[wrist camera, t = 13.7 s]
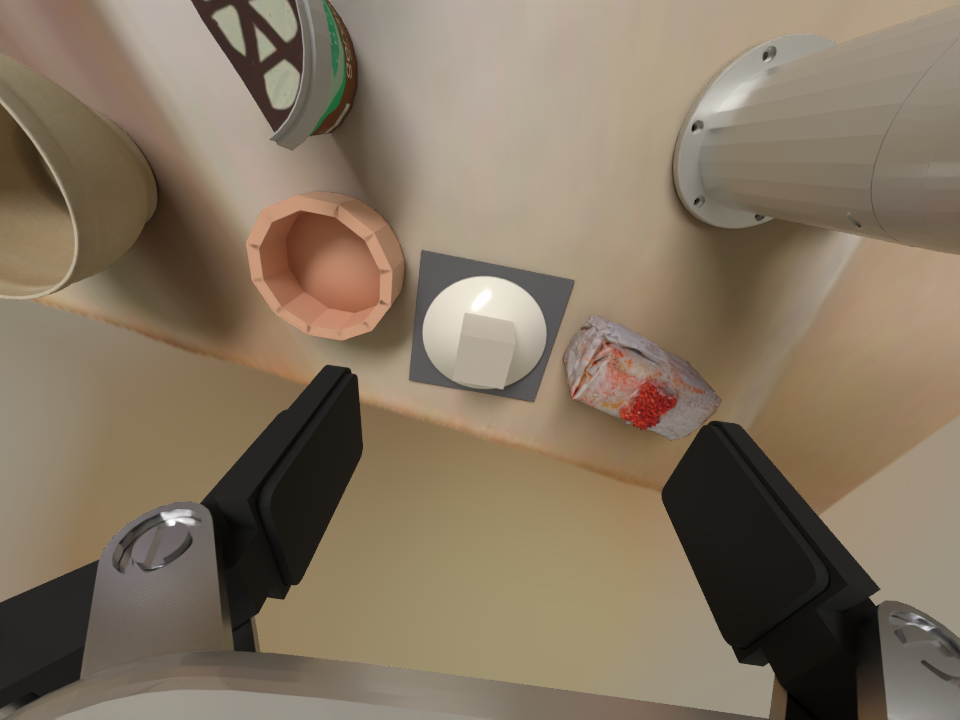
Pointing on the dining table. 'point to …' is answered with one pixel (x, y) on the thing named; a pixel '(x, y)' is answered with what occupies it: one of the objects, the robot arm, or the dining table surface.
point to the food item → (636, 380)
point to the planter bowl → (63, 186)
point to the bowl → (326, 263)
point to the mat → (449, 269)
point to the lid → (484, 332)
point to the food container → (288, 61)
